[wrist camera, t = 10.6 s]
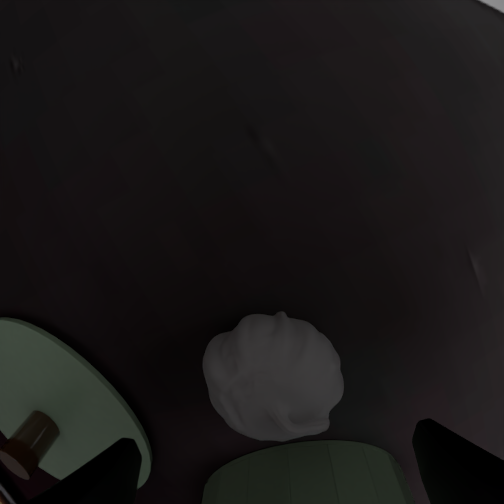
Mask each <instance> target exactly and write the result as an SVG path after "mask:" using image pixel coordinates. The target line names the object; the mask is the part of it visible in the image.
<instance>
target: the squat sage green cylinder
mask: <svg viewBox="0 0 504 504" xmlns="http://www.w3.org/2000/svg"><path fill="white" fill-rule="evenodd" d="M200 504H415V501H414V498H413V496H412V493H411V491H410V488H409V486H408V483H407V481H406V478H405V476H404V473H403V471H402V469H401V466H400V465H399V464H398V462H397V461H396V459H395V458H394V457H393V456H392V455H391V454H389V453H388V452H386V451H385V450H383V449H381V448H378V447H376V446H373V445H369V444H366V443H360V442H354V441H343V440H319V441H305V442H298V443H290V444H285V445H279V446H274V447H270V448H266V449H262V450H259V451H256V452H253V453H250V454H247V455H244V456H242V457H239V458H237V459H235V460H233V461H231V462H229V463H227V464H225V465H224V466H222V467H221V468H219V469H218V470H217V471H215V472H214V473H213V474H212V476H211V477H210V478H209V479H208V481H207V482H206V484H205V486H204V489H203V494H202V497H201V501H200Z"/></svg>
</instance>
